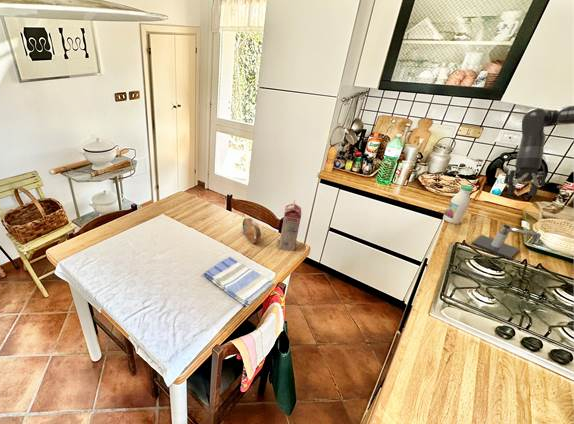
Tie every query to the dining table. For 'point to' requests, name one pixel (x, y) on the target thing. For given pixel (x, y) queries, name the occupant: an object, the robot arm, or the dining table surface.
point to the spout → (506, 229)
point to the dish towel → (239, 281)
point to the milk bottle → (458, 205)
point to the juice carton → (290, 227)
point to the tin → (251, 230)
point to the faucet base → (498, 251)
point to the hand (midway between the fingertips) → (521, 195)
